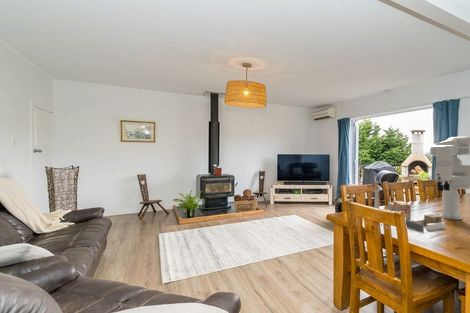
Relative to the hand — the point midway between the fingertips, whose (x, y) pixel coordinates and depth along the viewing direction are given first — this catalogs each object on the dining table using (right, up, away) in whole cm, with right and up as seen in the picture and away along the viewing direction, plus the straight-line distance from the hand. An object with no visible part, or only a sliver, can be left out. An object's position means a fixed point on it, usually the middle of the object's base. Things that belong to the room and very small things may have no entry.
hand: (443, 190), depth 158 cm
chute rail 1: (-14, -24, +1) cm, 28 cm away
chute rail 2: (-12, -24, -8) cm, 28 cm away
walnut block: (-9, -24, -2) cm, 26 cm away
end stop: (-25, -24, -7) cm, 35 cm away
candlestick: (-41, -24, +7) cm, 48 cm away
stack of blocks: (-17, -24, +18) cm, 35 cm away
